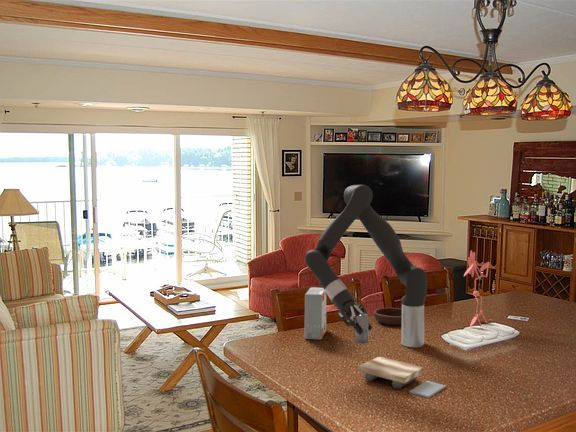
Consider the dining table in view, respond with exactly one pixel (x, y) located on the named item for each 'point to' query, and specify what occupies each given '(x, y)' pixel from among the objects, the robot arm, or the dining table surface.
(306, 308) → the hard drive box
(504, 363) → the dining table surface
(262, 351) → the dining table surface
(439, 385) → the slate-grey pad
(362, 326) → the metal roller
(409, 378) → the birch slab
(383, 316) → the dish
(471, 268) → the figurine
